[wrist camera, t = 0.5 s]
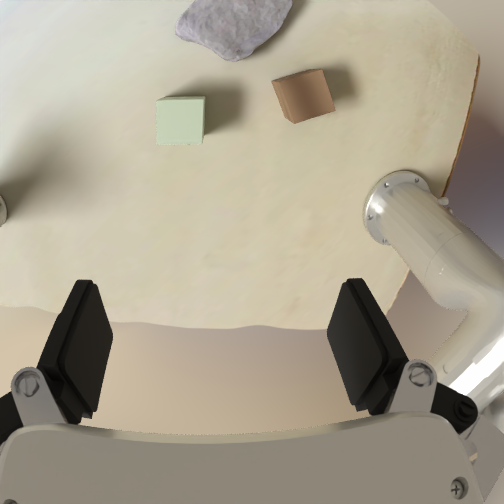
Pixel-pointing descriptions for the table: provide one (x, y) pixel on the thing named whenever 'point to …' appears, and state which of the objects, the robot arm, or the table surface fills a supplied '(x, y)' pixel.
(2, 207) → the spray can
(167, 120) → the sage block
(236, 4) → the stone block
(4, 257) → the table surface
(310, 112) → the walnut block
